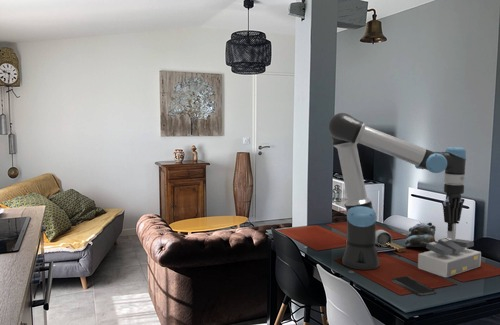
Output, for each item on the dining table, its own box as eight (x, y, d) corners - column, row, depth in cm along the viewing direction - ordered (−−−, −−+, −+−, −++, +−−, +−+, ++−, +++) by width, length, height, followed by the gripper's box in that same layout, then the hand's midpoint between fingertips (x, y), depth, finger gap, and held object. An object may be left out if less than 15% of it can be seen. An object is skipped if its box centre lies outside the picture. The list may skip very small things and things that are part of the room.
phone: (419, 294, 132) (390, 278, 146) (419, 297, 132) (390, 281, 146) (437, 291, 135) (407, 275, 149) (437, 294, 135) (407, 278, 149)
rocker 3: (473, 245, 161) (473, 240, 161) (466, 247, 159) (466, 242, 159) (455, 243, 168) (454, 238, 168) (448, 245, 165) (448, 239, 165)
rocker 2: (462, 252, 158) (463, 247, 157) (454, 254, 155) (456, 249, 155) (444, 242, 164) (445, 237, 164) (437, 243, 162) (438, 239, 161)
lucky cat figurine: (398, 246, 189) (400, 219, 194) (414, 253, 194) (416, 226, 199) (426, 245, 176) (427, 215, 181) (442, 252, 181) (443, 223, 186)
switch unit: (446, 277, 149) (447, 258, 148) (417, 268, 159) (418, 250, 159) (481, 266, 161) (482, 248, 160) (452, 258, 171) (453, 241, 171)
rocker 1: (451, 254, 154) (452, 249, 153) (444, 256, 151) (445, 251, 151) (433, 246, 160) (434, 241, 160) (425, 247, 158) (426, 243, 157)
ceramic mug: (386, 242, 195) (387, 227, 195) (392, 247, 187) (392, 232, 187) (365, 243, 196) (365, 228, 195) (370, 247, 188) (370, 232, 187)
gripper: (453, 186, 158) (450, 242, 160) (471, 183, 165) (468, 238, 167) (436, 183, 164) (433, 238, 167) (454, 181, 171) (451, 233, 174)
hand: (451, 238), depth 167 cm, fingers closed
